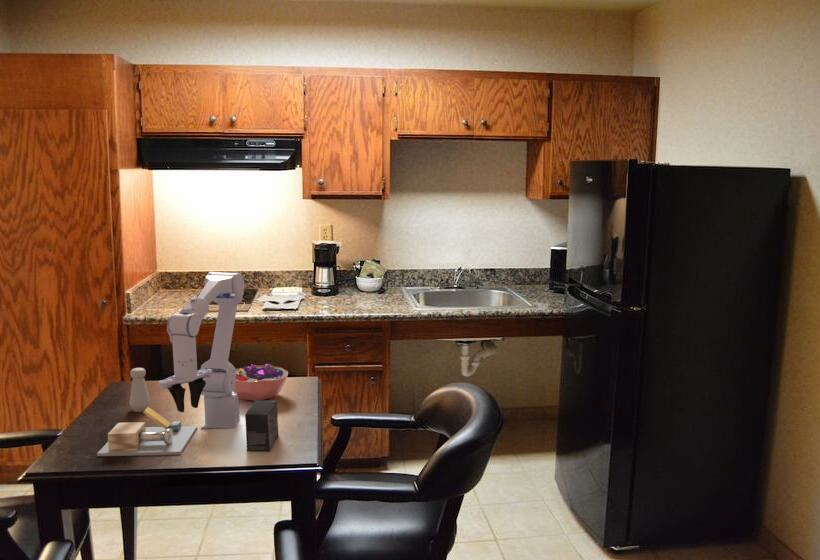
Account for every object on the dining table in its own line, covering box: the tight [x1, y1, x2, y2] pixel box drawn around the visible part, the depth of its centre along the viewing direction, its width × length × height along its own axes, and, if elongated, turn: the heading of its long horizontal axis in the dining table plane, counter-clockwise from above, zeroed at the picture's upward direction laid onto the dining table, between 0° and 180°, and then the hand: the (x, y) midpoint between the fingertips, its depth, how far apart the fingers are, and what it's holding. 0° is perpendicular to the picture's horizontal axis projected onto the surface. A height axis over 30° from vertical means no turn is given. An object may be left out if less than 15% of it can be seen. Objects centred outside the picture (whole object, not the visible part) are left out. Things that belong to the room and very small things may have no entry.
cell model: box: [232, 363, 289, 402], centre depth 214 cm, size 17×20×11 cm
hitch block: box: [107, 421, 146, 451], centre depth 176 cm, size 7×8×5 cm
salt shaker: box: [129, 367, 151, 413], centre depth 203 cm, size 6×6×13 cm
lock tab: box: [142, 406, 172, 429], centre depth 186 cm, size 8×3×1 cm
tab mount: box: [170, 420, 182, 432], centre depth 186 cm, size 2×3×2 cm, turn 4°
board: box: [96, 425, 198, 457], centre depth 180 cm, size 21×17×1 cm
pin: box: [138, 429, 173, 444], centre depth 177 cm, size 12×4×4 cm, turn 94°
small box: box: [244, 399, 280, 453], centre depth 179 cm, size 11×6×10 cm, turn 178°
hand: (187, 409), depth 176 cm, fingers open, 3 cm apart
